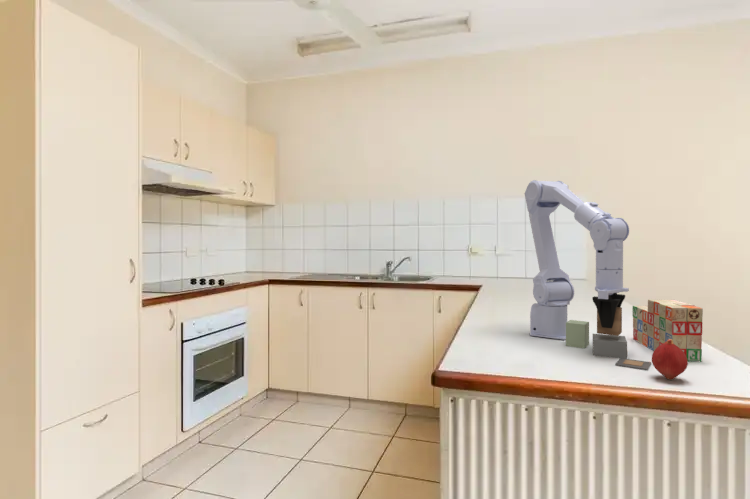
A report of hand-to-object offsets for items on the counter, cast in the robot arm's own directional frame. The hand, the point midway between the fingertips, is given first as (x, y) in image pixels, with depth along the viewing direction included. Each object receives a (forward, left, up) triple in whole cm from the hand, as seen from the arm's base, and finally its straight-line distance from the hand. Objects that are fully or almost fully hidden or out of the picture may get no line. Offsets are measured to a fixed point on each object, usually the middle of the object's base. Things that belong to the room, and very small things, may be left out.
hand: (609, 325), depth 104 cm
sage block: (-8, +4, -7) cm, 11 cm away
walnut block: (0, 0, -2) cm, 2 cm away
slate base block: (0, 0, -7) cm, 7 cm away
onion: (+13, -14, -7) cm, 20 cm away
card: (+6, -7, -7) cm, 11 cm away
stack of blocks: (+10, +12, -7) cm, 17 cm away
